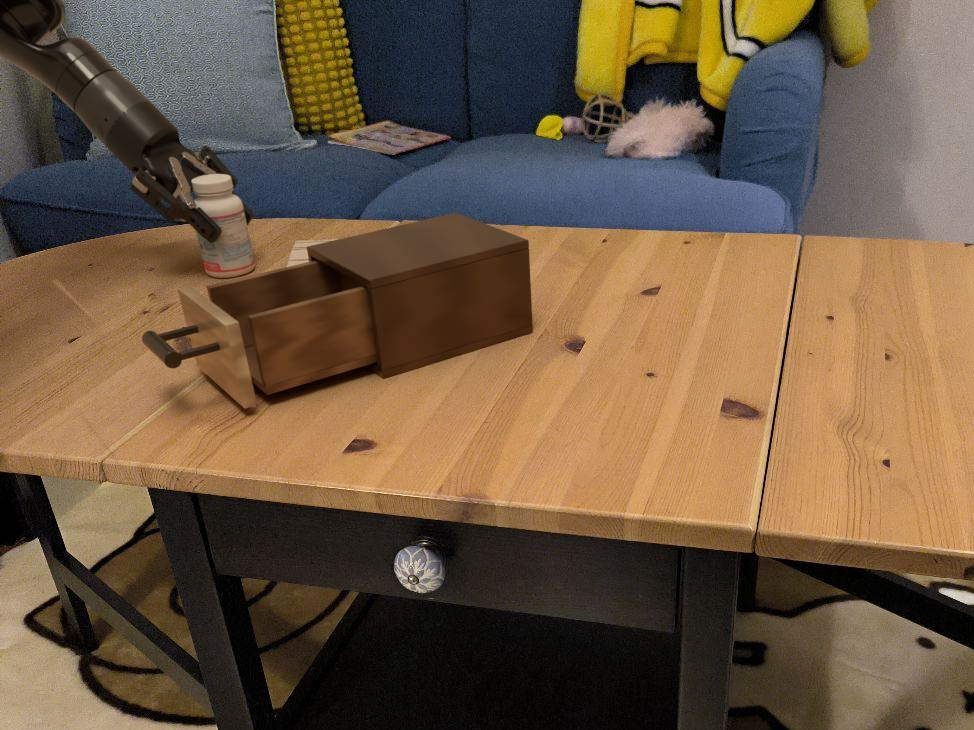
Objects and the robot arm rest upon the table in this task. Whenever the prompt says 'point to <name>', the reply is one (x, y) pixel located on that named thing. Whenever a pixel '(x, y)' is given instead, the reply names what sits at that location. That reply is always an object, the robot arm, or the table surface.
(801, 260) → the table surface
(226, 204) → the pill bottle
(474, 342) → the cabinet
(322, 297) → the drawer
